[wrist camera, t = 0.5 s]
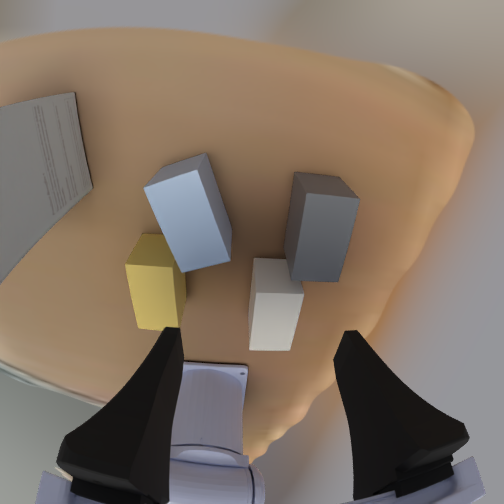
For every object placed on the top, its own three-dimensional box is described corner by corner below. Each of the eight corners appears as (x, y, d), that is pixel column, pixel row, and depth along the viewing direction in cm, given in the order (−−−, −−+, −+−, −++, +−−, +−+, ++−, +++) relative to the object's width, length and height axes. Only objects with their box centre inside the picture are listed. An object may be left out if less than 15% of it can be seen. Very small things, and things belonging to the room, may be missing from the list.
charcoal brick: (323, 248, 21) (338, 282, 18) (283, 246, 21) (291, 280, 18) (338, 176, 18) (360, 199, 15) (294, 171, 18) (306, 193, 15)
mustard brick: (186, 295, 23) (178, 332, 20) (150, 293, 23) (138, 328, 19) (183, 234, 20) (172, 267, 17) (142, 232, 20) (125, 264, 17)
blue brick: (232, 228, 20) (230, 260, 17) (191, 239, 20) (181, 272, 17) (206, 152, 17) (197, 169, 14) (162, 167, 18) (143, 187, 14)
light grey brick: (284, 314, 24) (289, 350, 21) (248, 313, 24) (249, 350, 21) (294, 259, 22) (304, 294, 18) (253, 256, 21) (256, 292, 18)
